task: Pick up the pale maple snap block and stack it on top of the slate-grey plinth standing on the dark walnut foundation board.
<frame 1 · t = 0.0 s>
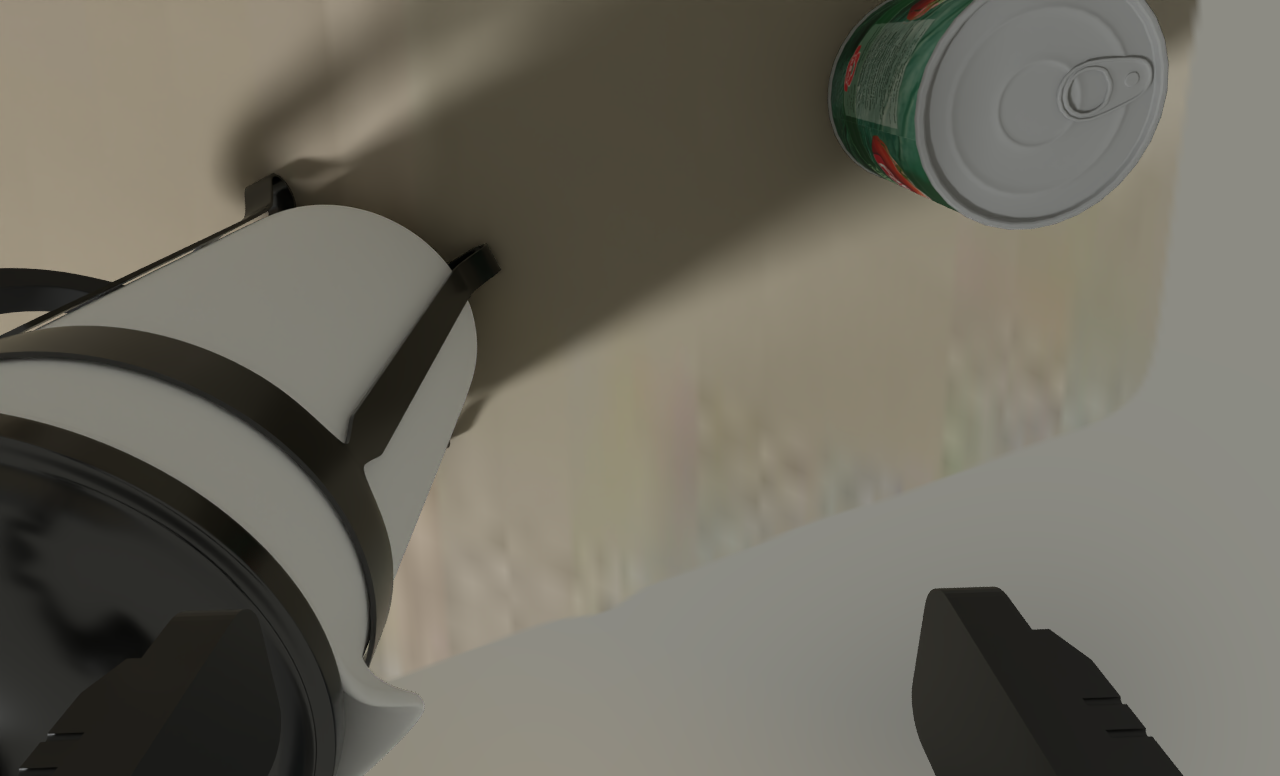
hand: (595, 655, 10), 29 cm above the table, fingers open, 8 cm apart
coffee press: (332, 318, 38), on the table
canned tomato: (915, 88, 35), on the table
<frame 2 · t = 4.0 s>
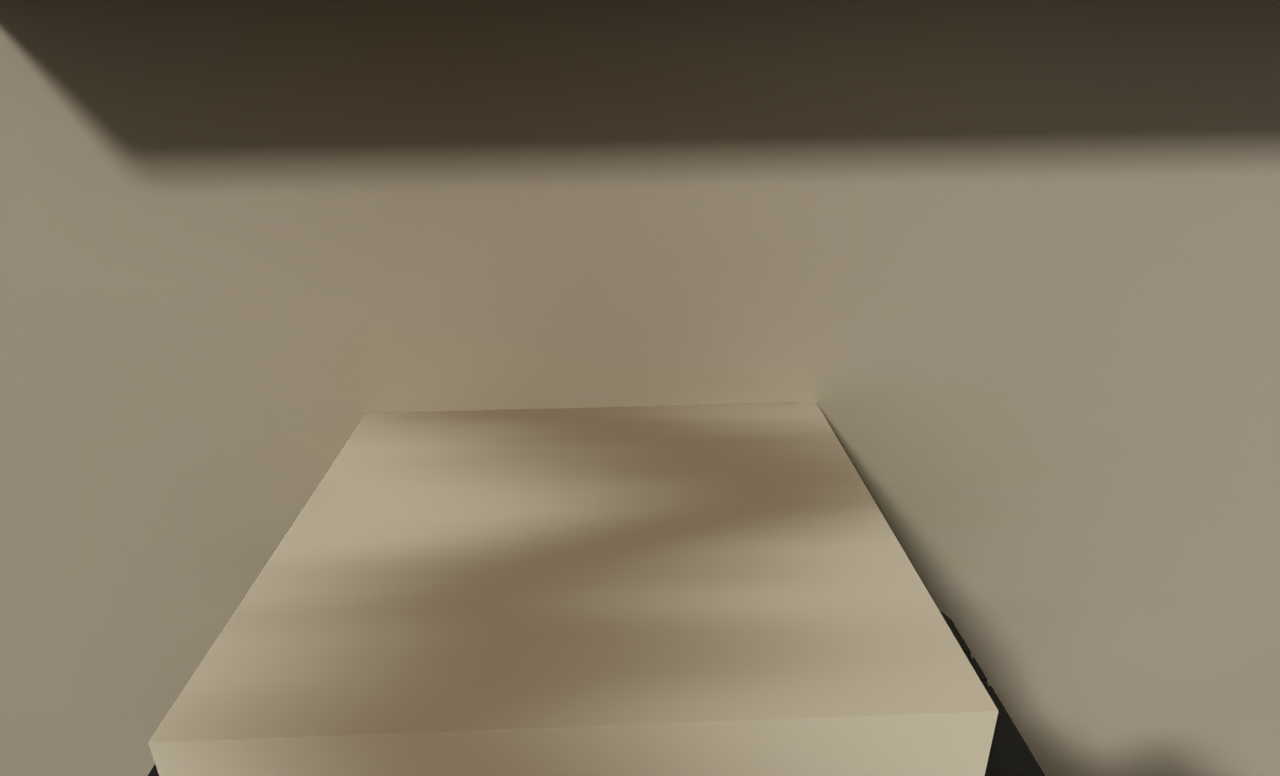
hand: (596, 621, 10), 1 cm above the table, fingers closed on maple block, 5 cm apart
maple block: (599, 592, 11), on the table, touching gripper
when the fingers open (7 cm above the table, at t = 11.0 s): maple block drops 1 cm, resting on foundation.
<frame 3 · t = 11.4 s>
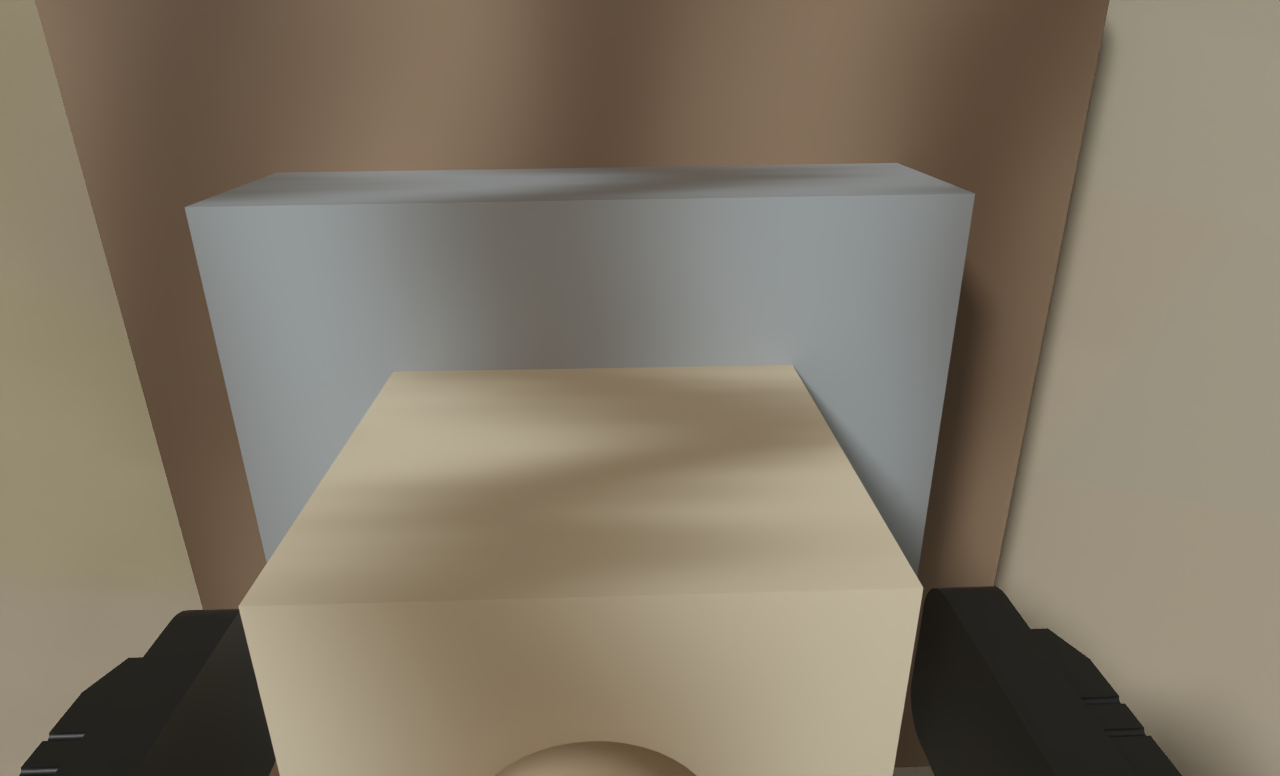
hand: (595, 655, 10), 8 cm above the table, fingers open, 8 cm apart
maple block: (599, 537, 12), point 5 cm above the table, touching foundation
foundation: (600, 400, 17), on the table
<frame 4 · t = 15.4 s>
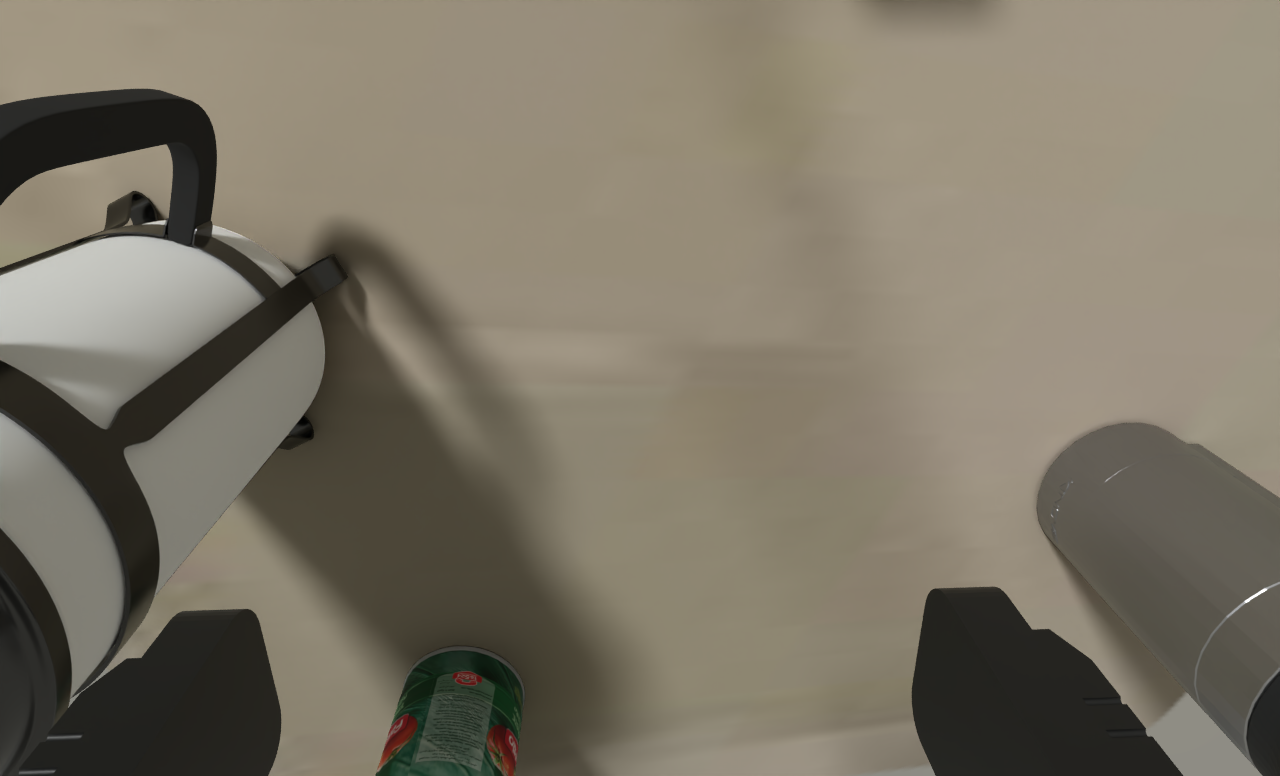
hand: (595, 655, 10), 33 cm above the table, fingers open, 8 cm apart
coffee press: (222, 298, 42), on the table
canned tomato: (465, 691, 53), on the table
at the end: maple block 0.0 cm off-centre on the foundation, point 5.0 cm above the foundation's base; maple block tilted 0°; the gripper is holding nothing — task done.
